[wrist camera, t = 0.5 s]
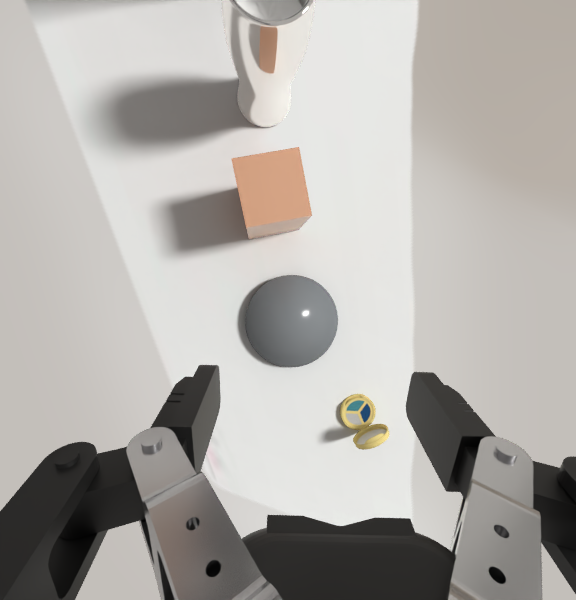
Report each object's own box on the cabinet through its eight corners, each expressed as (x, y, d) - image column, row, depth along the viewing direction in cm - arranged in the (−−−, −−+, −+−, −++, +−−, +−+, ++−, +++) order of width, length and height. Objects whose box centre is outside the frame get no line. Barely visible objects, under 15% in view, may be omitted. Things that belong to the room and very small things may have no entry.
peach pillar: (237, 187, 36) (231, 158, 27) (288, 178, 36) (299, 147, 27) (248, 239, 36) (246, 227, 27) (298, 229, 37) (311, 215, 28)
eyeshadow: (365, 388, 39) (381, 404, 34) (380, 421, 40) (397, 442, 35) (334, 403, 39) (345, 421, 34) (349, 437, 40) (363, 459, 35)
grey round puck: (236, 285, 36) (236, 285, 36) (326, 267, 37) (328, 266, 36) (256, 373, 38) (256, 376, 37) (343, 353, 38) (345, 355, 38)
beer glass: (269, 144, 36) (279, 51, 21) (220, 103, 35) (193, -26, 20) (306, 96, 36) (342, -31, 21) (258, 54, 35) (259, -112, 20)
